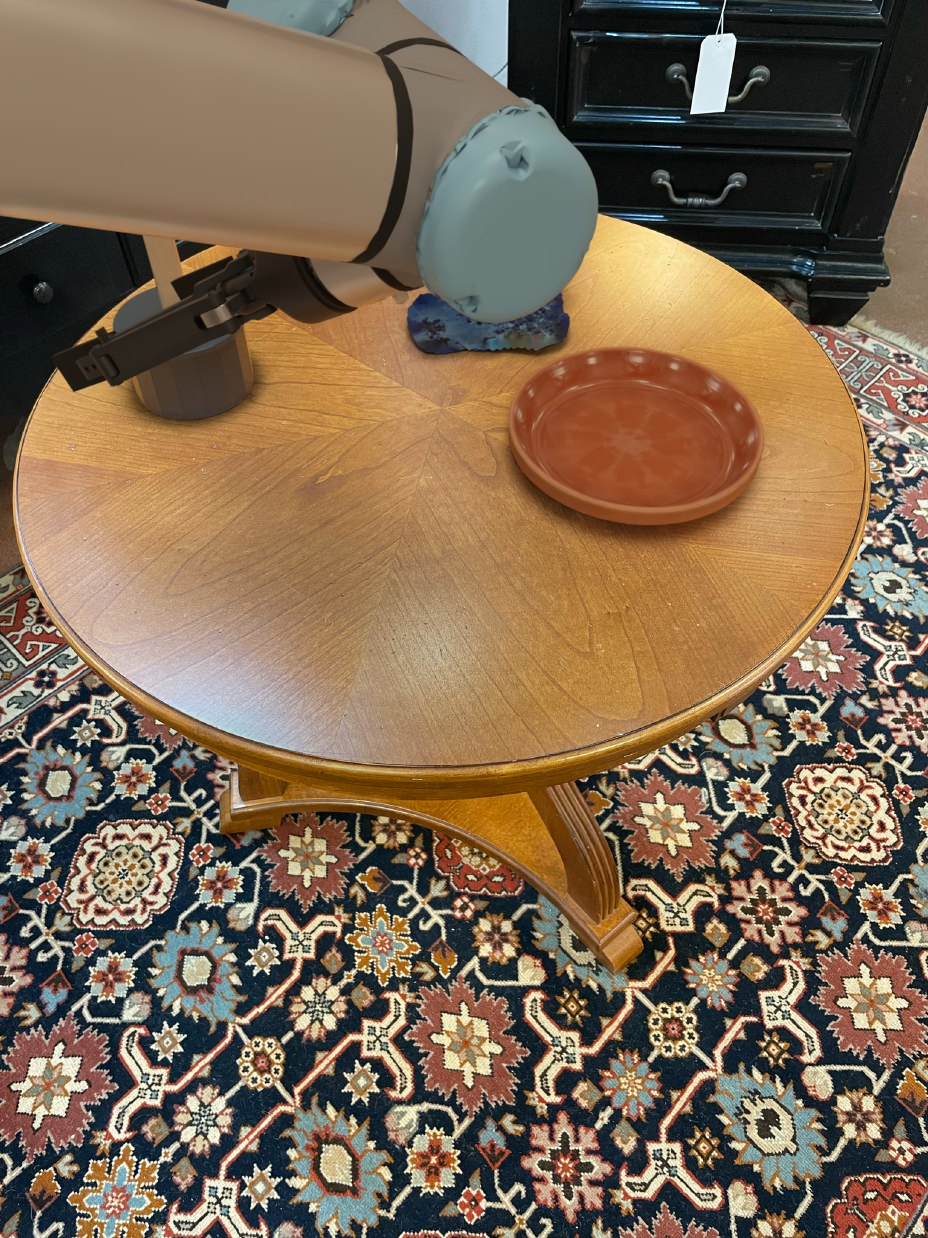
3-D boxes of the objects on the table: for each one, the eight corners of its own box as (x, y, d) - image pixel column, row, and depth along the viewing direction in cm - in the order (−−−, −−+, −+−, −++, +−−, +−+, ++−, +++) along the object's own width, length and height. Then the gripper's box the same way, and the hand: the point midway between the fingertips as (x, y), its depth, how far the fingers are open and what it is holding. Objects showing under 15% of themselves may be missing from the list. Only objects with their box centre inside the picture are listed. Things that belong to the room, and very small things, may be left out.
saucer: (802, 445, 89) (813, 414, 86) (661, 580, 78) (669, 549, 75) (605, 349, 99) (609, 317, 96) (456, 457, 88) (456, 425, 85)
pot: (137, 427, 91) (117, 365, 86) (138, 357, 98) (119, 296, 93) (258, 411, 92) (245, 349, 87) (250, 344, 100) (237, 282, 94)
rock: (573, 352, 98) (575, 335, 97) (408, 358, 98) (406, 341, 96) (558, 277, 108) (559, 261, 106) (407, 283, 108) (406, 267, 106)
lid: (114, 373, 86) (79, 269, 78) (117, 300, 93) (85, 198, 85) (251, 356, 87) (230, 252, 79) (242, 285, 95) (222, 184, 87)
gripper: (258, 395, 53) (41, 459, 65) (445, 237, 70) (245, 311, 82) (185, 266, 50) (-30, 359, 62) (401, 132, 66) (199, 226, 78)
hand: (127, 332), depth 72 cm, fingers open, 13 cm apart
